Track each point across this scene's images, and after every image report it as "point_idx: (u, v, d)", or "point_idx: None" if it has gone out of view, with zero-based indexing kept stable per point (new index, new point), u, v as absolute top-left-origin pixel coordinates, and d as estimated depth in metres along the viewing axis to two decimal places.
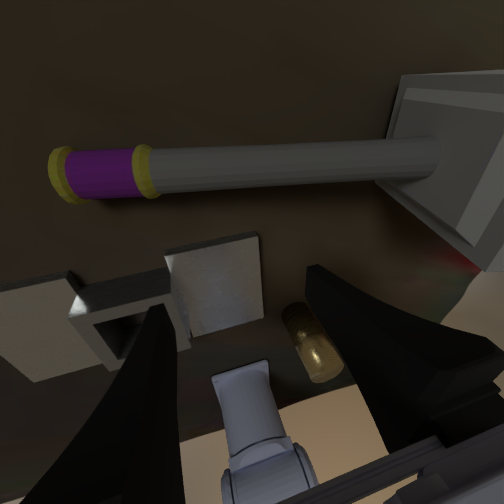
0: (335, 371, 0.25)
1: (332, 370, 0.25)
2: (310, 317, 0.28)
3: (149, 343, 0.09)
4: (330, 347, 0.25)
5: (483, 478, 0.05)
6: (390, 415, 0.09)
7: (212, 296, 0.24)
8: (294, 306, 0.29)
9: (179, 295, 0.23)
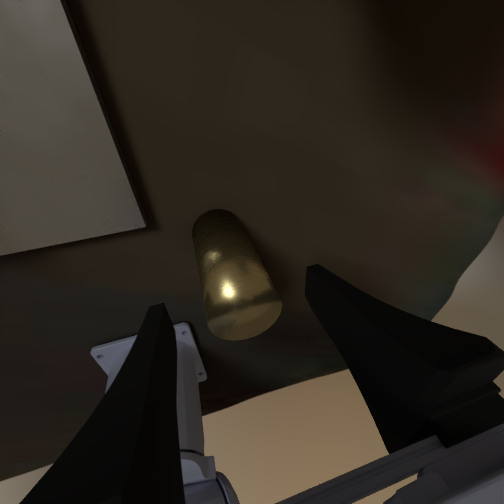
0: (266, 314, 0.12)
1: (257, 311, 0.12)
2: (232, 226, 0.15)
3: (149, 343, 0.09)
4: (255, 265, 0.12)
5: (483, 478, 0.05)
6: (390, 415, 0.09)
7: None
8: (210, 213, 0.16)
9: None
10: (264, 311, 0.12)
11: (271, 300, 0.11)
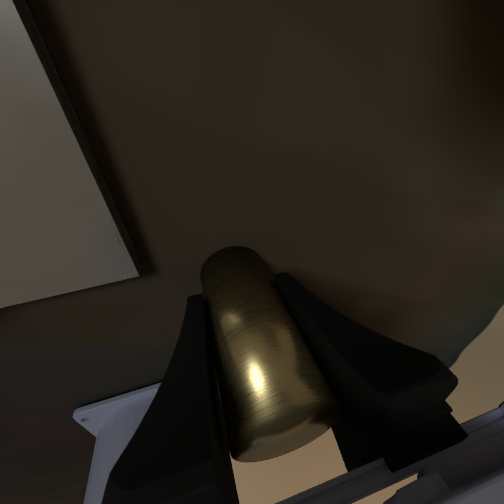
0: (316, 427, 0.08)
1: (304, 428, 0.08)
2: (257, 275, 0.11)
3: (197, 330, 0.09)
4: (299, 352, 0.08)
5: (483, 478, 0.05)
6: (345, 432, 0.08)
7: None
8: (225, 253, 0.12)
9: None
10: (314, 425, 0.08)
11: (327, 413, 0.07)
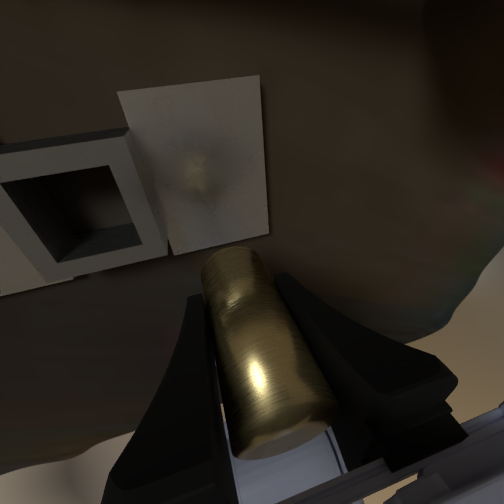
0: (316, 424, 0.08)
1: (305, 425, 0.08)
2: (255, 275, 0.11)
3: (197, 330, 0.09)
4: (297, 351, 0.08)
5: (483, 478, 0.05)
6: (345, 432, 0.08)
7: (196, 184, 0.17)
8: (224, 253, 0.12)
9: (147, 175, 0.16)
10: (314, 422, 0.08)
11: (326, 410, 0.07)
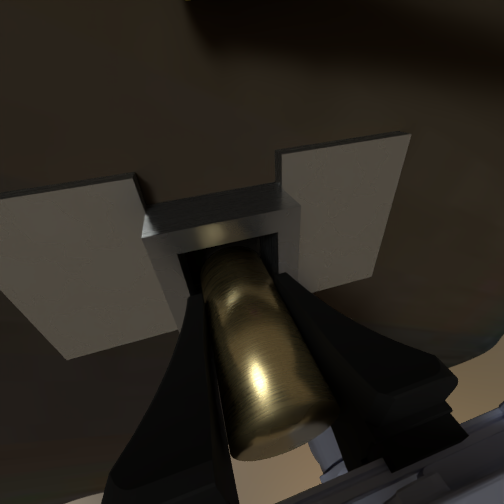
0: (316, 425, 0.08)
1: (304, 426, 0.08)
2: (253, 275, 0.11)
3: (197, 330, 0.09)
4: (295, 352, 0.08)
5: (483, 478, 0.05)
6: (345, 432, 0.08)
7: (323, 236, 0.17)
8: (222, 254, 0.12)
9: None
10: (313, 423, 0.08)
11: (325, 411, 0.07)
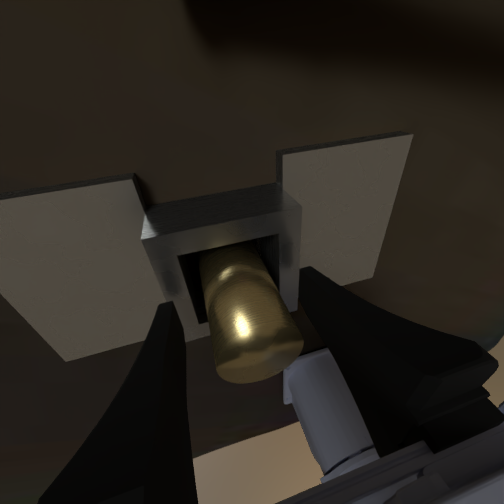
0: (285, 353, 0.10)
1: (275, 352, 0.10)
2: (240, 244, 0.13)
3: (161, 340, 0.09)
4: (269, 296, 0.10)
5: (483, 478, 0.05)
6: (380, 419, 0.08)
7: (324, 236, 0.17)
8: None
9: None
10: (283, 350, 0.10)
11: (290, 338, 0.10)
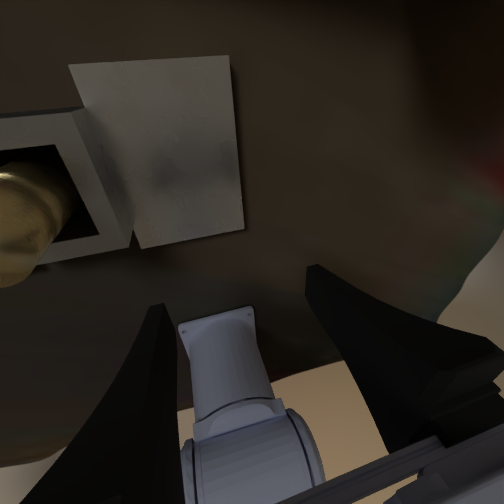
0: (9, 252, 0.09)
1: None
2: (31, 162, 0.12)
3: (149, 343, 0.09)
4: None
5: (483, 478, 0.05)
6: (390, 415, 0.09)
7: (163, 173, 0.16)
8: (24, 154, 0.14)
9: (107, 160, 0.15)
10: (2, 247, 0.09)
11: (0, 231, 0.09)
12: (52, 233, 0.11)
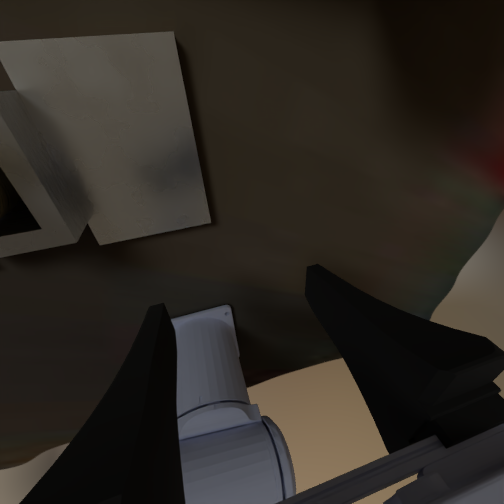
0: None
1: None
2: None
3: (149, 343, 0.09)
4: None
5: (483, 478, 0.05)
6: (390, 415, 0.09)
7: (114, 163, 0.15)
8: None
9: (49, 149, 0.14)
10: None
11: None
12: None
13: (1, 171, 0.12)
